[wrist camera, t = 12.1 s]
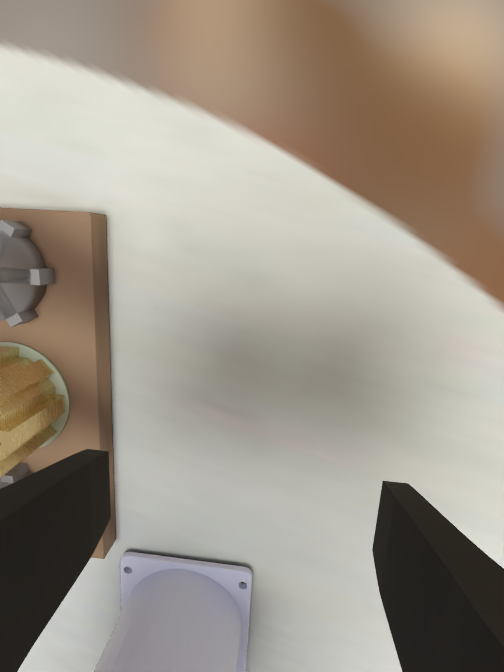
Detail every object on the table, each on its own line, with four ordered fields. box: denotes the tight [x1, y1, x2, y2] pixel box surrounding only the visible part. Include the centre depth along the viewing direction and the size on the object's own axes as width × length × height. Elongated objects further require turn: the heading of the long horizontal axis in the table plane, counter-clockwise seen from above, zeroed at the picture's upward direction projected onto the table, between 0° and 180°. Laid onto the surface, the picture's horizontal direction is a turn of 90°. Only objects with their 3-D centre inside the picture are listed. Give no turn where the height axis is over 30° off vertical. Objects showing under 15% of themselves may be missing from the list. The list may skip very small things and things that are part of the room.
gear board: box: [0, 208, 116, 559], centre depth 19 cm, size 19×9×5 cm, turn 177°
